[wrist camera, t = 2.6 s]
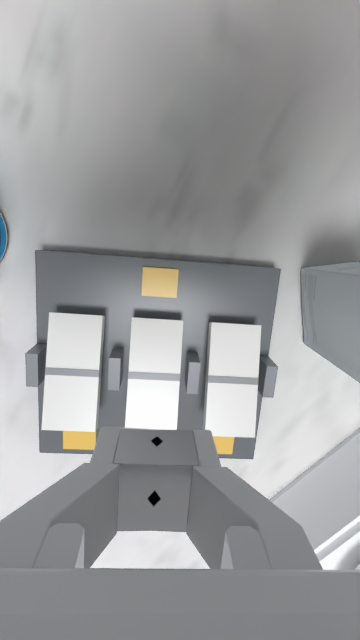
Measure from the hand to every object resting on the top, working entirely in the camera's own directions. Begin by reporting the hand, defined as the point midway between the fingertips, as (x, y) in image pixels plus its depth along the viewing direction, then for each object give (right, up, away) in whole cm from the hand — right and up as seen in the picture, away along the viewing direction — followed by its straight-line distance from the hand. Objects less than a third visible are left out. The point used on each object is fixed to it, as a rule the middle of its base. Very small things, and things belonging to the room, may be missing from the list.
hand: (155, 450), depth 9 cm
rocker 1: (-9, -1, +20) cm, 22 cm away
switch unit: (-2, 0, +25) cm, 25 cm away
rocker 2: (-2, -1, +20) cm, 21 cm away
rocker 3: (+5, -2, +21) cm, 22 cm away
